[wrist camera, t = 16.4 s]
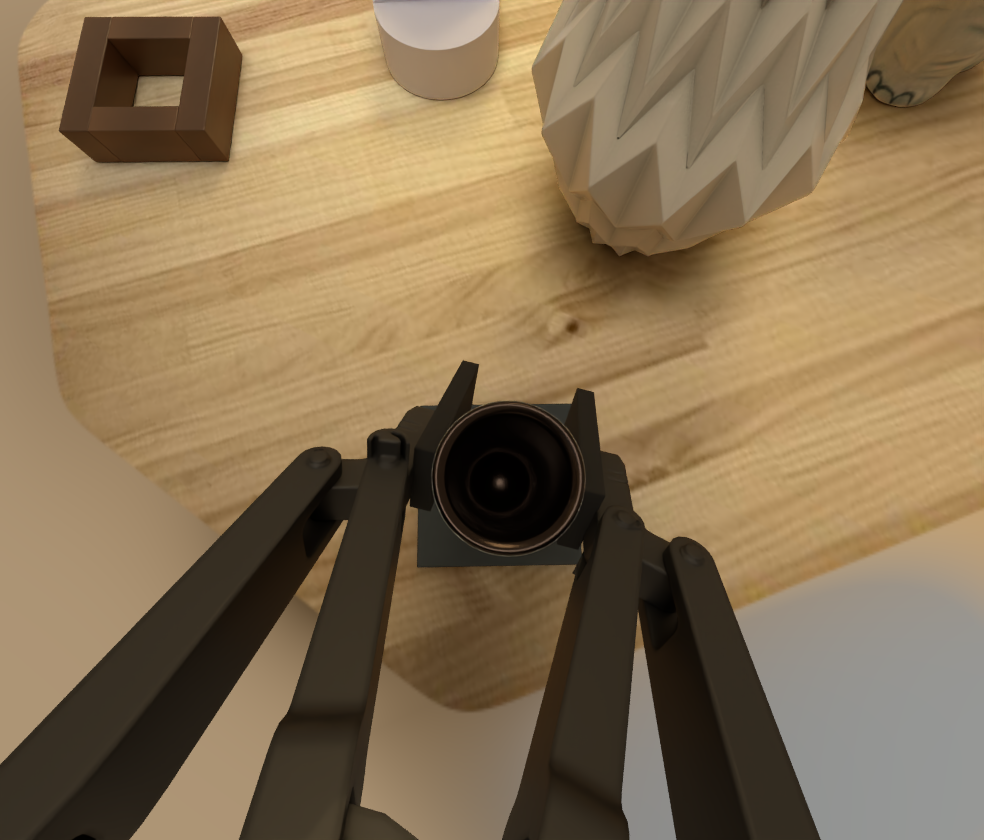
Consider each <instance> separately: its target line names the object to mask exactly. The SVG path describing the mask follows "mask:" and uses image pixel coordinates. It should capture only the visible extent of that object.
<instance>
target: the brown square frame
mask: <svg viewBox="0 0 984 840" xmlns="http://www.w3.org/2000/svg"><path fill="white" fill-rule="evenodd" d="M241 60H242V54H241V52H240V50H239V48H238V46H237V45H236V43H235V41H234V39H233V38H232V36H231V34H230V32H229V31H228V29H227V27H226V25H225V24H224V22H223V20H222V18H221V17H85V18H84V23H83V27H82V32H81V36H80V40H79V45H78V49H77V53H76V58H75V62H74V66H73V71H72V75H71V80H70V84H69V88H68V93H67V97H66V101H65V106H64V110H63V114H62V119H61V123H60V128H59V132H60V133H62V134H63V135H64V136H65V137H66V138H68V139H69V140H70V141H71V142H72V143H74V144H75V145H76V146H77V147H78V148H80V149H81V150H82V151H83V152H84V153H86V154H87V155H88V156H89V157H91V158H92V159H93V160H94V161H96V162H121V161H122V162H162V161H228V160H229V153H230V145H231V137H232V129H233V122H234V114H235V106H236V99H237V91H238V83H239V76H240V68H241ZM138 75H184V80H183V86H182V92H181V98H180V104H179V107H178V106H164V107H132V106H133V100H134V95H135V90H136V85H137V79H138Z"/></svg>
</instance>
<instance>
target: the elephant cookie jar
mask: <svg viewBox="0 0 984 840" xmlns="http://www.w3.org/2000/svg"><path fill="white" fill-rule="evenodd" d="M983 60H984V0H904V1H903V3H902V4H901V6H900V8H899V9H898V11H897V13H896V15H895V16H894V18H893V20H892V22H891V23H890V25H889V27H888V28H887V30H886V32H885V34H884V35H883V37H882V39H881V41H880V42H879V44H878V45H877V47H876V50H875V53H874V56H873V60H872V63H871V66H870V69H869V72H868V75H867V78H866V85H867V87H868V89H869V90H870V91H871V92H872V94H873V95H874V96H875V97H876V98H877V99H878V100H879V101H881V102H883V103H886V104H890V105H894V106H898V107H908V106H916V105H919V104H922V103H924V102H925V101H927V100H928V99H930V98H931V97H932V96H934V95H935V94H936V93H937V92H939V91H940V90H941V89H942V88H943V87H944V86H945V85H946V84H947V83H948V82H949V81H950V80H951V79H952V78H953V77H954V76H955V75H956V74H957V73H959V72H963V71H965V70H968V69H971V68H972V67H974V66H975V65H977V64H978V63H980V62H981V61H983Z"/></svg>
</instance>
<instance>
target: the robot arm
mask: <svg viewBox="0 0 984 840" xmlns="http://www.w3.org/2000/svg"><path fill="white" fill-rule="evenodd" d="M478 367H479V364H475V363H471V362H467V361H462V363H461V365H460V366H459V368H458V370H457V372H456V374H455V375H454V377H453V379H452V381H451V383H450V384H449V386H448V388H447V390H446V392H445V393H444V395H443V397H442V399H441V401H440V402H439V404H438V406H437V408H436V410H431V409H427V408H423V407H419V406H416V407H414V408H413V409H411V410H409V411H407V413H406V414H405V416H404V417H403V419H402V421H401V422H400V423H399V425H398V427H397V428H396V429H381V430H377V431H375V432H373V433H372V434H370V436H369V437H368V439H367V458H365V459H341V454H340V453H339V452H338V451H337V450H335V449H332V448H330V447H314V448H311V449H308V450H305V451H304V452H303V453H301V454H300V455H299V456H298V457H297V458H296V459H295V460H294V461H293V462H292V463H291V464H290V465H289V466H288V467H287V468H286V469H285V470H284V471H283V472H282V473H281V474H280V475H279V476H278V477H277V478H276V479H275V480H274V482H273V483H272V484H271V485H270V486H269V487H268V488H267V489H266V490H265V491H264V492H263V493H262V494H261V495H260V496H259V497H258V498H257V499H256V500H255V501H254V502H253V503H252V504H251V505H250V506H249V507H248V508H247V509H246V511H245V512H244V513H243V514H242V515H241V516H240V517H239V518H238V519H237V520H236V521H235V522H234V523H233V524H232V525H231V526H230V527H229V528H228V529H227V530H226V531H225V532H224V533H223V534H222V535H221V536H220V537H219V538H218V540H217V541H216V542H215V543H214V544H213V545H212V546H211V547H210V548H209V549H208V550H207V551H206V552H205V553H204V554H203V555H202V556H201V557H200V558H199V559H198V560H197V561H196V562H195V563H194V565H193V566H191V568H190V569H189V570H188V571H187V572H186V573H185V574H184V575H183V576H182V577H181V578H180V579H179V580H178V581H177V582H176V583H175V584H174V585H173V586H172V587H171V588H170V589H169V590H168V591H167V592H166V593H165V594H164V595H163V597H162V598H161V599H160V600H159V601H158V602H157V603H156V604H155V605H154V606H153V607H152V608H151V609H150V610H149V611H148V612H147V613H146V614H145V615H144V616H143V617H142V618H141V619H140V620H139V621H138V622H137V623H136V625H135V626H134V627H133V628H132V629H131V630H130V631H129V632H128V633H127V634H126V635H125V636H124V637H123V638H122V639H121V640H120V641H119V642H118V643H117V644H116V645H115V646H114V647H113V648H112V649H111V650H110V651H109V652H108V653H107V655H106V656H105V657H104V658H103V659H102V660H101V661H100V662H99V663H98V664H97V665H96V666H95V667H94V668H93V669H92V670H91V671H90V672H89V673H88V674H87V676H85V677H84V678H83V679H82V681H81V682H79V684H78V685H77V686H76V687H75V688H74V689H73V690H72V691H71V692H70V693H69V694H68V695H67V696H66V697H65V698H64V699H63V700H62V701H61V702H60V703H59V704H58V705H57V707H55V708H54V709H53V710H52V712H51V713H50V714H49V715H48V716H47V717H46V718H45V719H44V720H43V721H42V722H41V723H40V724H39V725H38V726H37V727H36V728H35V729H34V730H33V731H32V732H31V733H30V734H29V735H28V737H27V738H26V739H24V741H23V742H22V743H21V744H20V745H19V746H18V747H17V748H16V749H15V750H14V751H13V752H12V753H11V754H10V755H9V756H8V757H7V758H6V759H5V760H4V761H3V762H2V763H1V764H0V840H129V839H130V838H131V837H132V836H133V834H134V833H135V832H136V831H137V829H138V828H139V827H140V826H141V824H142V823H143V822H144V820H145V819H146V817H147V816H148V815H149V813H150V812H151V810H152V809H153V807H154V806H155V805H156V803H157V802H158V800H159V799H160V798H161V796H162V795H163V793H164V792H165V791H166V789H167V788H168V786H169V785H170V783H171V782H172V780H173V778H174V777H175V776H176V774H177V772H178V771H179V769H180V768H181V766H182V765H183V763H184V762H185V760H186V759H187V757H188V755H189V754H190V753H191V751H192V750H193V748H194V747H195V745H196V744H197V742H198V741H199V739H200V737H201V736H202V734H203V733H204V731H205V730H206V728H207V727H208V725H209V724H210V722H211V721H212V719H213V718H214V716H215V715H216V713H217V711H218V710H219V709H220V707H221V706H222V704H223V702H224V701H225V699H226V698H227V696H228V695H229V693H230V692H231V690H232V689H233V687H234V686H235V684H236V683H237V681H238V680H239V678H240V676H241V675H242V674H243V672H244V671H245V669H246V668H247V666H248V664H249V663H250V661H251V660H252V658H253V657H254V655H255V654H256V652H257V651H258V649H259V648H260V646H261V645H262V643H263V641H264V640H265V639H266V637H267V636H268V634H269V632H270V631H271V629H272V628H273V626H274V625H275V623H276V622H277V620H278V619H279V617H280V616H281V614H282V613H283V611H284V610H285V608H286V607H287V605H288V604H289V602H290V601H291V599H292V598H293V596H294V595H295V593H296V591H297V590H298V588H299V587H300V585H301V584H302V582H303V581H304V579H305V578H306V576H307V575H308V573H309V572H310V570H311V569H312V567H313V566H314V564H315V563H316V561H317V560H318V558H319V556H320V555H321V553H322V552H323V550H324V549H325V547H326V546H327V544H328V543H329V541H330V540H331V538H332V537H333V535H334V534H335V532H336V531H337V529H338V528H339V526H340V525H341V523H342V521H343V520H348V523H347V526H346V529H345V532H344V536H343V539H342V542H341V545H340V549H339V552H338V555H337V558H336V561H335V565H334V568H333V571H332V574H331V577H330V581H329V584H328V587H327V590H326V593H325V597H324V600H323V603H322V606H321V609H320V613H319V616H318V619H317V622H316V625H315V629H314V632H313V635H312V638H311V642H310V645H309V648H308V651H307V654H306V658H305V661H304V664H303V667H302V671H301V674H300V677H299V680H298V683H297V686H296V690H295V693H294V696H293V699H292V703H291V705H290V708H289V710H288V712H287V714H286V715H285V717H284V718H283V719H282V720H281V721H280V723H279V725H278V727H277V729H276V731H275V733H274V735H273V738H272V741H271V743H270V746H269V749H268V752H267V755H266V758H265V761H264V764H263V767H262V770H261V773H260V776H259V780H258V782H257V786H256V789H255V792H254V795H253V798H252V801H251V804H250V807H249V810H248V813H247V816H246V819H245V822H244V825H243V829H242V832H241V835H240V838H239V840H418V839H417V838H416V837H415V836H413V835H412V834H411V833H409V832H408V831H407V830H406V829H404V828H403V827H402V826H400V825H399V824H398V823H396V822H395V821H394V820H392V819H391V818H390V817H389V816H387V815H386V814H384V813H381V812H378V811H374V810H371V809H367V808H364V807H361V806H360V803H361V796H362V790H363V783H364V775H365V766H366V757H367V750H368V744H369V736H370V731H371V725H372V719H373V713H374V706H375V700H376V694H377V688H378V681H379V675H380V669H381V663H382V657H383V650H384V644H385V638H386V632H387V625H388V619H389V613H390V607H391V601H392V594H393V588H394V582H395V576H396V569H397V563H398V557H399V551H400V545H401V538H402V532H403V526H404V520H405V511H406V505H407V503H408V501H409V499H410V507H414V508H418V509H422V510H426V511H431V509H432V507H433V504H434V502H435V499H434V495H433V490H432V467H433V461H434V457H435V454H436V451H437V448H438V446H439V444H440V442H441V440H442V438H443V437H444V435H445V434H446V432H447V431H448V430H449V428H450V427H451V426H452V425H453V424H454V423H455V422H456V421H457V420H458V419H459V418H460V417H462V416H463V415H464V414H466V413H467V412H469V411H471V407H472V401H473V395H474V390H475V384H476V378H477V373H478ZM564 426H565V427H566V428H567V429H568V430H569V432H570V433H571V434H572V436H573V438H574V439H575V441H576V443H577V445H578V447H579V449H580V452H581V455H582V458H583V462H584V467H585V491H584V497H583V501H582V504H581V507H580V509H579V512H578V514H577V516H576V517H575V519H574V521H573V522H572V524H571V525H570V527H569V528H568V529H567V530H566V531H565V532H564V533H563V534H562V535H561V536H560V537H559V538H558V539H557V545H561V546H565V547H569V548H573V549H576V550H578V549H579V547H580V546H581V544H582V542H583V546H584V552H583V554H582V556H581V558H580V560H579V561H578V563H577V565H576V567H575V569H574V571H573V574H575V578H574V582H573V585H572V589H571V593H570V597H569V601H568V604H567V608H566V612H565V616H564V620H563V624H562V627H561V631H560V635H559V639H558V643H557V646H556V650H555V654H554V658H553V662H552V666H551V669H550V673H549V677H548V681H547V685H546V688H545V692H544V696H543V700H542V704H541V708H540V711H539V715H538V719H537V723H536V727H535V731H534V734H533V738H532V742H531V746H530V750H529V754H528V757H527V761H526V765H525V769H524V772H523V776H522V780H521V784H520V788H519V791H518V795H517V798H516V801H515V803H514V806H513V808H512V811H511V813H510V816H509V819H508V822H507V825H506V828H505V831H504V835H503V838H502V840H629V828H628V822H627V819H626V817H625V815H624V813H623V810H622V804H621V798H622V782H623V772H624V761H625V750H626V738H627V727H628V716H629V705H630V694H631V682H632V671H633V659H634V649H635V637H636V626H637V615H638V612H639V618H640V624H641V630H642V636H643V642H644V648H645V654H646V659H647V666H648V672H649V678H650V683H651V689H652V696H653V702H654V708H655V714H656V720H657V725H658V732H659V738H660V744H661V750H662V756H663V761H664V768H665V774H666V779H667V786H668V792H669V798H670V803H671V809H672V815H673V822H674V828H675V833H676V839H677V840H821V839H820V837H819V834H818V831H817V829H816V826H815V824H814V821H813V818H812V816H811V813H810V810H809V808H808V805H807V803H806V800H805V797H804V795H803V793H802V790H801V787H800V785H799V782H798V779H797V777H796V774H795V771H794V769H793V766H792V763H791V761H790V758H789V756H788V753H787V750H786V748H785V745H784V743H783V740H782V737H781V735H780V732H779V729H778V727H777V724H776V722H775V719H774V716H773V714H772V711H771V708H770V706H769V703H768V701H767V698H766V695H765V693H764V690H763V688H762V685H761V682H760V680H759V677H758V675H757V672H756V669H755V667H754V664H753V661H752V659H751V656H750V654H749V651H748V648H747V646H746V643H745V640H744V638H743V635H742V633H741V630H740V627H739V625H738V622H737V620H736V617H735V615H734V612H733V609H732V606H731V604H730V601H729V599H728V596H727V593H726V591H725V588H724V586H723V583H722V580H721V578H720V575H719V572H718V570H717V567H716V565H715V562H714V560H713V558H712V556H711V555H710V553H709V552H708V551H707V550H706V549H705V548H704V547H703V546H702V545H701V544H699V543H698V542H696V541H695V540H692V539H689V538H687V537H676V538H673V539H672V541H671V542H668V541H666V540H664V539H662V538H660V537H658V536H656V535H654V534H652V533H651V532H649V531H648V530H646V529H645V526H644V522H643V521H642V519H641V517H640V516H639V515H638V514H637V513H635V512H634V511H633V506H632V500H631V495H630V490H629V485H628V480H627V476H626V469H625V465H624V463H623V462H622V460H621V459H620V457H619V456H618V455H616V454H611V453H607V452H603V451H600V442H599V433H598V425H597V416H596V407H595V398H594V392H591V391H587V390H583V389H579V388H577V390H576V393H575V396H574V399H573V402H572V404H571V407H570V410H569V413H568V416H567V418H566V421H565V424H564Z"/></svg>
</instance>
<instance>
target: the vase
mask: <svg viewBox="0 0 984 840" xmlns="http://www.w3.org/2000/svg"><path fill="white" fill-rule="evenodd" d="M903 1H904V0H563V1H562V3H561V5H560V7H559V9H558V12H557V14H556V16H555V19H554V21H553V23H552V25H551V27H550V29H549V31H548V33H547V36H546V38H545V40H544V42H543V44H542V46H541V48H540V51H539V53H538V55H537V57H536V59H535V61H534V63H533V66H532V75H533V79H534V84H535V89H536V93H537V98H538V103H539V107H540V112H541V117H542V121H543V128H542V136H543V138H544V140H545V142H546V145H547V147H548V149H549V151H550V153H551V155H552V157H553V161H554V166H555V172H556V177H557V182H558V187H559V189H560V190H561V192H562V194H563V196H564V198H565V200H566V202H567V203H568V205H569V207H570V209H571V211H572V213H573V215H574V216H575V218H576V222H577V223H579V224H581V225H583V226H585V227H587V228H589V230H590V234H591V238H592V242H593V243H596V244H607V245H608V246H611V247H612V248H613V249H614V250H615V252H616V253H617V254H618V255H619V256H621V255H623V254H626V253H628V252H631V251H633V250H635V251H638V252H640V253H642V254H644V255H646V256H650V255H652V254H658V253H664V252H669V251H675V250H680V249H686V248H691V247H692V246H694V245H696V244H698V243H700V242H702V241H704V240H706V239H708V238H710V237H712V236H714V235H716V234H719V233H721V232H723V231H726V230H732V229H736V228H740V227H743V226H744V225H745V224H746V223H748V222H750V221H752V220H754V219H757V218H759V217H761V216H763V215H766V214H768V213H770V212H772V211H774V210H777V209H779V208H781V207H783V206H785V205H788V204H790V203H792V202H794V201H797V200H799V199H801V198H803V197H805V196H808V195H809V194H811V193H812V191H813V190H814V189H815V187H816V185H817V183H818V181H819V180H820V178H821V176H822V174H823V172H824V170H825V169H826V167H827V165H828V163H829V161H830V160H831V158H832V156H833V154H834V152H835V151H836V149H837V147H838V145H839V143H841V142H842V141H843V140H845V139H846V138H847V136H848V135H849V133H850V130H851V128H852V125H853V123H854V121H855V118H856V116H857V113H858V111H859V109H860V106H861V104H862V101H863V96H864V89H865V83H866V78H867V75H868V72H869V69H870V66H871V63H872V60H873V56H874V53H875V50H876V47H877V45H878V44H879V42H880V41H881V39H882V37H883V35H884V34H885V32H886V30H887V28H888V27H889V25H890V23H891V22H892V20H893V18H894V16H895V15H896V13H897V11H898V9H899V8H900V6H901V4H902V3H903Z"/></svg>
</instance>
